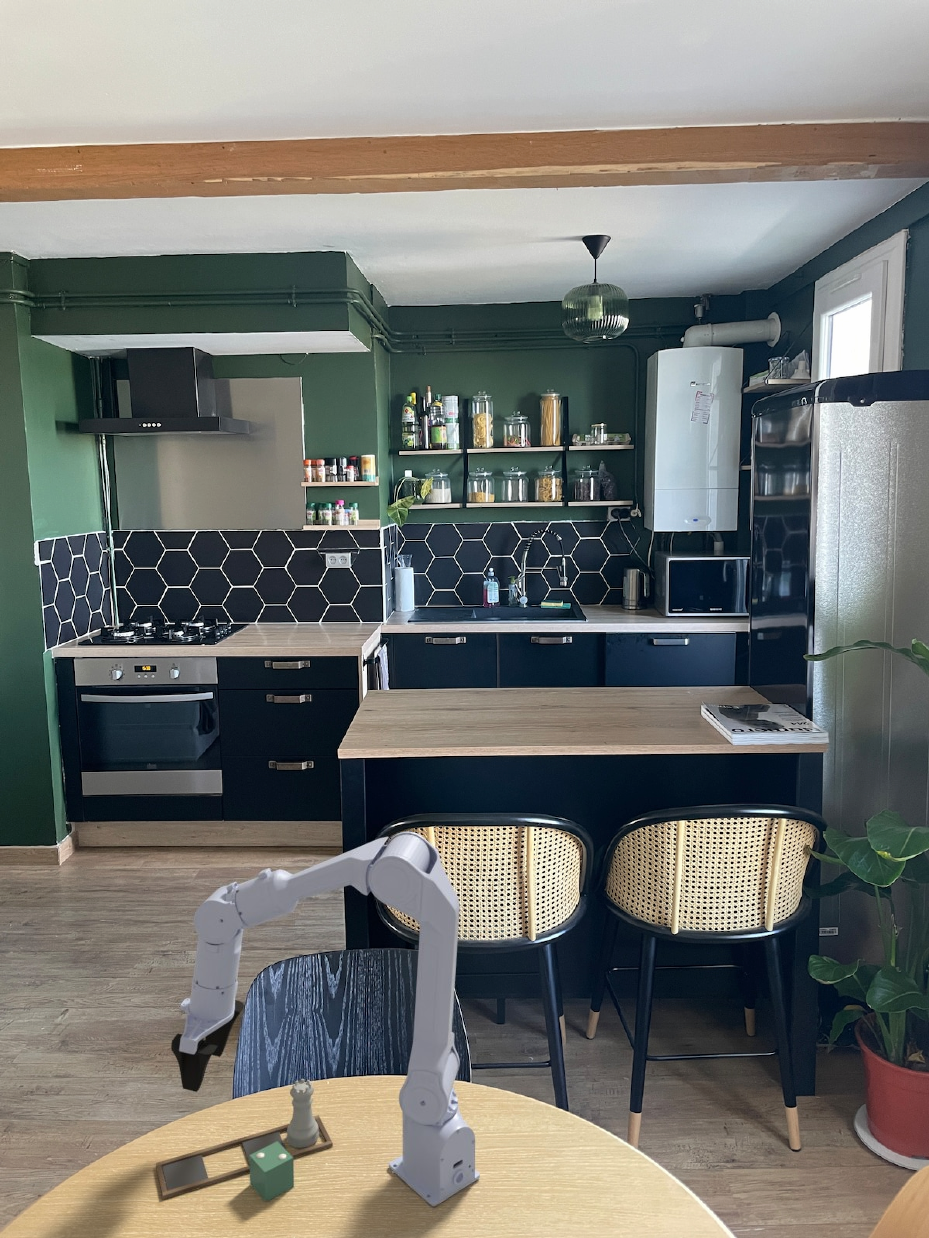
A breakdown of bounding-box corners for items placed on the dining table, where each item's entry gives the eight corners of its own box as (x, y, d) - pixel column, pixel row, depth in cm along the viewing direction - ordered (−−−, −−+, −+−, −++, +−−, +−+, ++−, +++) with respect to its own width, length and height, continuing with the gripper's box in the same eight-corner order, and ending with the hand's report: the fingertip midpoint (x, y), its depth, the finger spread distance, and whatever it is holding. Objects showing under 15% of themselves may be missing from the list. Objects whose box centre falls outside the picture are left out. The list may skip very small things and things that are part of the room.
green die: (293, 1186, 116) (293, 1156, 116) (265, 1201, 114) (265, 1171, 113) (278, 1169, 119) (277, 1140, 119) (250, 1184, 116) (249, 1154, 116)
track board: (318, 1118, 129) (318, 1114, 129) (332, 1146, 124) (332, 1142, 123) (155, 1166, 120) (155, 1162, 120) (163, 1199, 114) (162, 1195, 114)
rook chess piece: (323, 1129, 127) (322, 1075, 126) (314, 1151, 123) (313, 1095, 122) (291, 1127, 127) (290, 1073, 126) (282, 1149, 123) (280, 1093, 122)
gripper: (208, 945, 129) (197, 1033, 130) (161, 999, 114) (149, 1097, 116) (256, 955, 128) (244, 1044, 130) (215, 1012, 114) (202, 1110, 115)
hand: (202, 1070), depth 123 cm, fingers open, 7 cm apart
